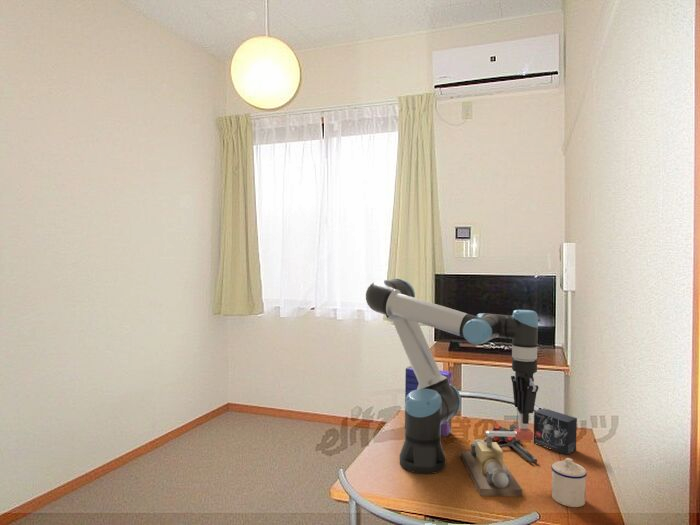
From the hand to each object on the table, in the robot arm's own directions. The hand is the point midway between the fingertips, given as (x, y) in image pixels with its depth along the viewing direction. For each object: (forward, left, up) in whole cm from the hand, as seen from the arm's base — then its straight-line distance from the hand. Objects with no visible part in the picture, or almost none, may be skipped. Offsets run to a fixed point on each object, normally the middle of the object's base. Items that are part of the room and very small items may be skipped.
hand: (523, 432), depth 149 cm
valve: (+1, +18, -14) cm, 23 cm away
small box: (+19, +21, -13) cm, 31 cm away
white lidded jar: (+7, -15, -13) cm, 21 cm away
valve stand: (-11, -2, -13) cm, 17 cm away
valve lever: (-6, -2, -1) cm, 6 cm away
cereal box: (-25, +35, -13) cm, 45 cm away
